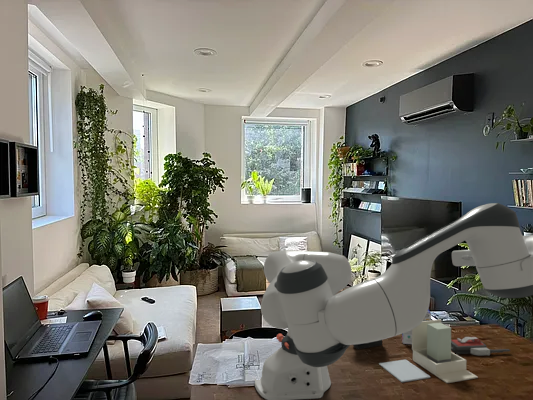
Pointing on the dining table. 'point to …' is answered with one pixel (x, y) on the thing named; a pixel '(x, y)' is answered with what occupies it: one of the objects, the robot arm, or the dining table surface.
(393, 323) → the robot arm
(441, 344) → the box
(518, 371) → the dining table surface
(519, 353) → the dining table surface
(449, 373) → the carton
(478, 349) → the walkie-talkie
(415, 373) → the mat
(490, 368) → the dining table surface
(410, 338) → the ink cartridge box
